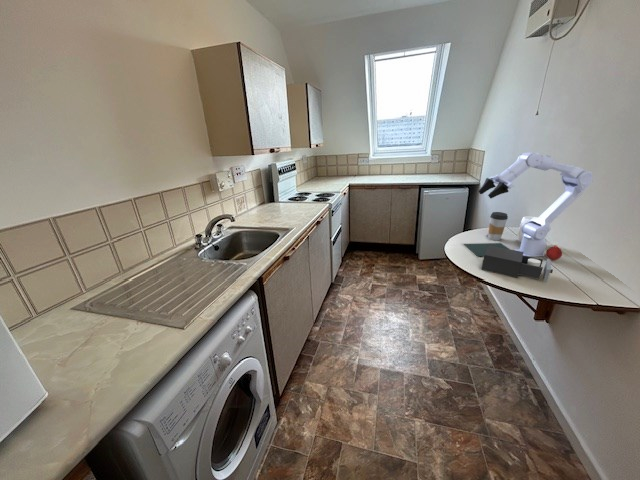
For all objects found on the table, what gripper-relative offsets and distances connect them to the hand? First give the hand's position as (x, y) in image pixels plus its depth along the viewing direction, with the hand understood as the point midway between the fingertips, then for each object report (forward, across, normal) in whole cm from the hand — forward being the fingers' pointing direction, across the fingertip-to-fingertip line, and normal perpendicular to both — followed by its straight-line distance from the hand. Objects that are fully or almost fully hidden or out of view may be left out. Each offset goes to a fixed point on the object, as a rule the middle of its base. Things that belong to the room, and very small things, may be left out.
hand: (484, 194), depth 124 cm
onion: (-3, +11, +46) cm, 47 cm away
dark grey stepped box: (+17, +16, +26) cm, 35 cm away
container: (+10, +23, +30) cm, 39 cm away
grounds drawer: (+10, +23, +31) cm, 40 cm away
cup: (-6, -11, +49) cm, 50 cm away
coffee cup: (+4, -19, +40) cm, 45 cm away
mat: (+12, -4, +32) cm, 34 cm away
